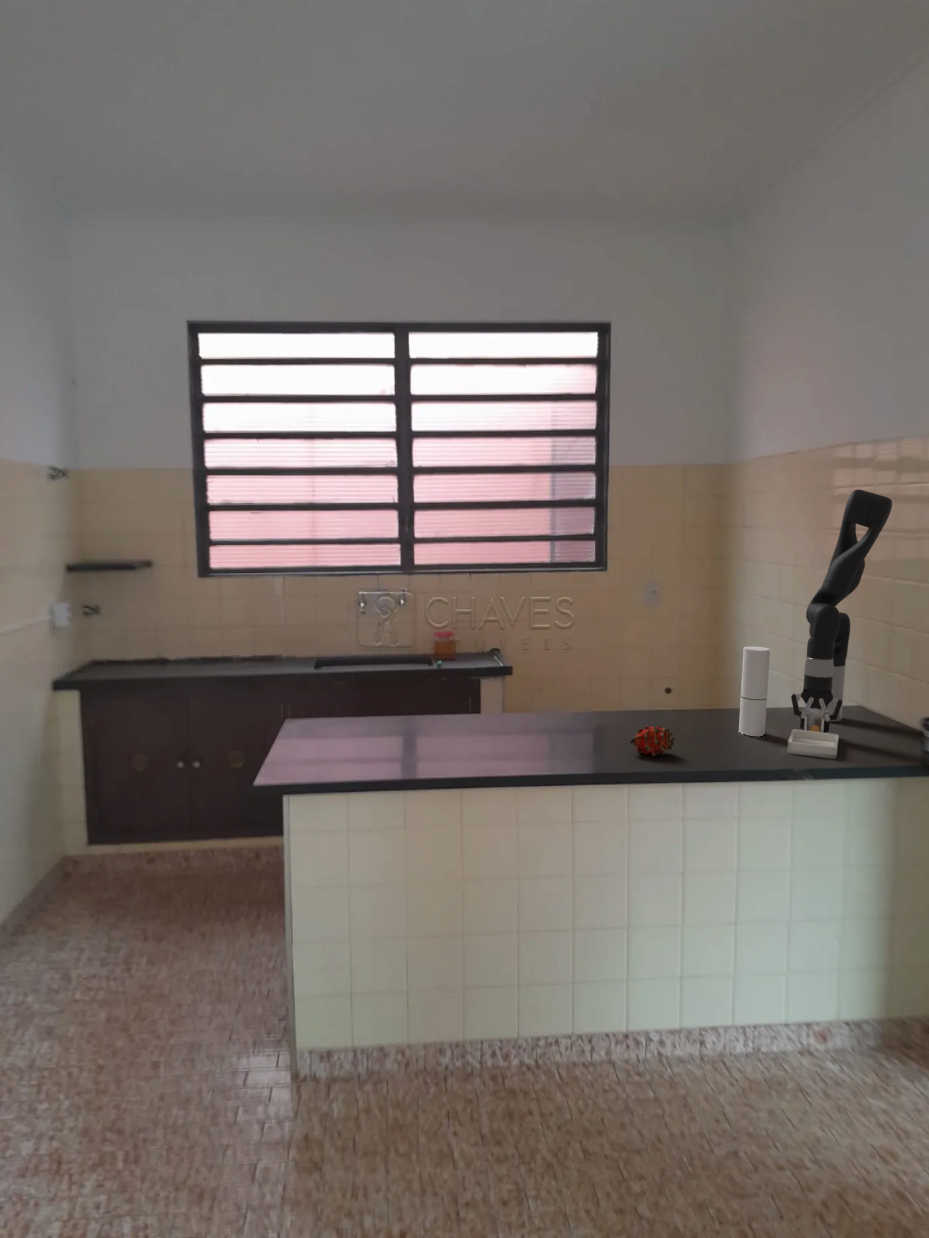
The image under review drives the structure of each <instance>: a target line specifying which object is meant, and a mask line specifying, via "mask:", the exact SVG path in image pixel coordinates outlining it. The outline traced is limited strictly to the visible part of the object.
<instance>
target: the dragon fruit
mask: <svg viewBox="0 0 929 1238" xmlns="http://www.w3.org/2000/svg"><path fill="white" fill-rule="evenodd" d="M674 741H675V738H674V733H672V732H671V731H670V729H669V728H666V727H661V726H660V725H658V724H656V726H652V725H651V726H650V725H645V726H644V728H640V729H638V731H637V733H636V735H635V736H634V737H633V738H632V739H631V741H629V743H630V745H632V744H633V745H634V746H635V747H634V751H637V754H643V755H649V754H651V755H652V757H655V756H658V755H659V756H662V755H663V753H664V752H666V751H670V750H672V746H674Z"/></svg>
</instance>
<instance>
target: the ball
mask: <svg viewBox="0 0 929 1238" xmlns="http://www.w3.org/2000/svg"><path fill="white" fill-rule="evenodd" d="M810 731H813V732H821V728H820V727H819V726H818V725H813V726H811V727H810Z"/></svg>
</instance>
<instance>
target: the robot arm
mask: <svg viewBox="0 0 929 1238" xmlns="http://www.w3.org/2000/svg"><path fill="white" fill-rule="evenodd" d="M892 507H893V501H892V499H891V498H890V497H887V496H884V495H881V494H877V493H874V492H870V491H867V490H864V489H855V490H853V491H852V492H851V493H850V494H849V497H848V499H847V502H846V504H845V508H844V511H843V516H842V520H841V525H840V529H839V535H838V539H837V542H836V544H835V548H834V550H833V551H834V552H833V553H832V556H831V560H830V563H829V566H828V569H827V573H826V575H825V577H824V580H823V582H822V585H821V586H820V588H819V589H818V590H817V591H816V593H815V595H814V596H813V597H812V598H811V600H810V602H809V604H808V606H807V608H806V613H805V617H806V621H807V623H809V630H808V631H809V632H808V633H809V636H810V637H809V638H808V640H807V646H806V658H805V662H804V663H805V664H804V675H803V687H802V688H803V689H802V692H801V693H791V695H790V699H791V702H792V703H791V704H792V709H793V714H794V716H797V717H799V719H800V722H799V728H800V730H804V723H805V715H806V714H807V712H808V711H816V712H823V714H824V717H825V721H824V733H829V731H830V723H832V722H841V721H842V714H843V705H844V704H843V702H844V692H845V675H846V660H847V657H848V651H849V641H850V635H851V619H850V617H849V615H848V614H847V613H846V612H840V611H839V609H838V608H837V606H838V605H839V604H840V603H841V602H842V601H844V599H845V598H847V597H848V596H849V595H851V594H852V593H853V592H855V590H856V589H857V588H858V586H859V585H860V582H861V581H862V576H863V573H864V570H865V568H866V561H865V559H866V557H867V556H868V554H869V552H870V551H871V549H872V548H873V546H874V544H875V542H876V541H877V539H878V538H879V536H880V534H881V531H882V530H883V529H884V527H885V524H886V523H887V521H888V519H889V517H890V514H891V511H892ZM857 525H858V526H862V527H865V528H867V531H866V532H865V534H864V535H863V537H862V538H861V539H860V540H858V536H857V532H856V531H857ZM800 699H802V700H803V702H804V704H805V706H804V708H803V710H802V711H800V708H799V707H800V706H799V702H800Z"/></svg>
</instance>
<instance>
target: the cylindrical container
mask: <svg viewBox="0 0 929 1238" xmlns="http://www.w3.org/2000/svg"><path fill="white" fill-rule="evenodd" d="M742 649H743V652H742V667H741V668H742V669H741V670H742V671H741V684H740V685H741V688H740V705H739V706H740V707H739V724H738V733H739V732H740V733H741V734H746V735H750V736H763V735H764V734H765V733H766V722H767V721H766V720H767V719H766V718H767V717H766V716H767V703H768V689H769V688H768V685H769V672H770V671H769V670H770V656H771V655H770V652H771V649H770V648H769V647H764V646H753V645H751V646H748V645H747V646H744V647H743V648H742ZM741 734H740V735H741ZM763 737H764V736H763Z"/></svg>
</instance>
